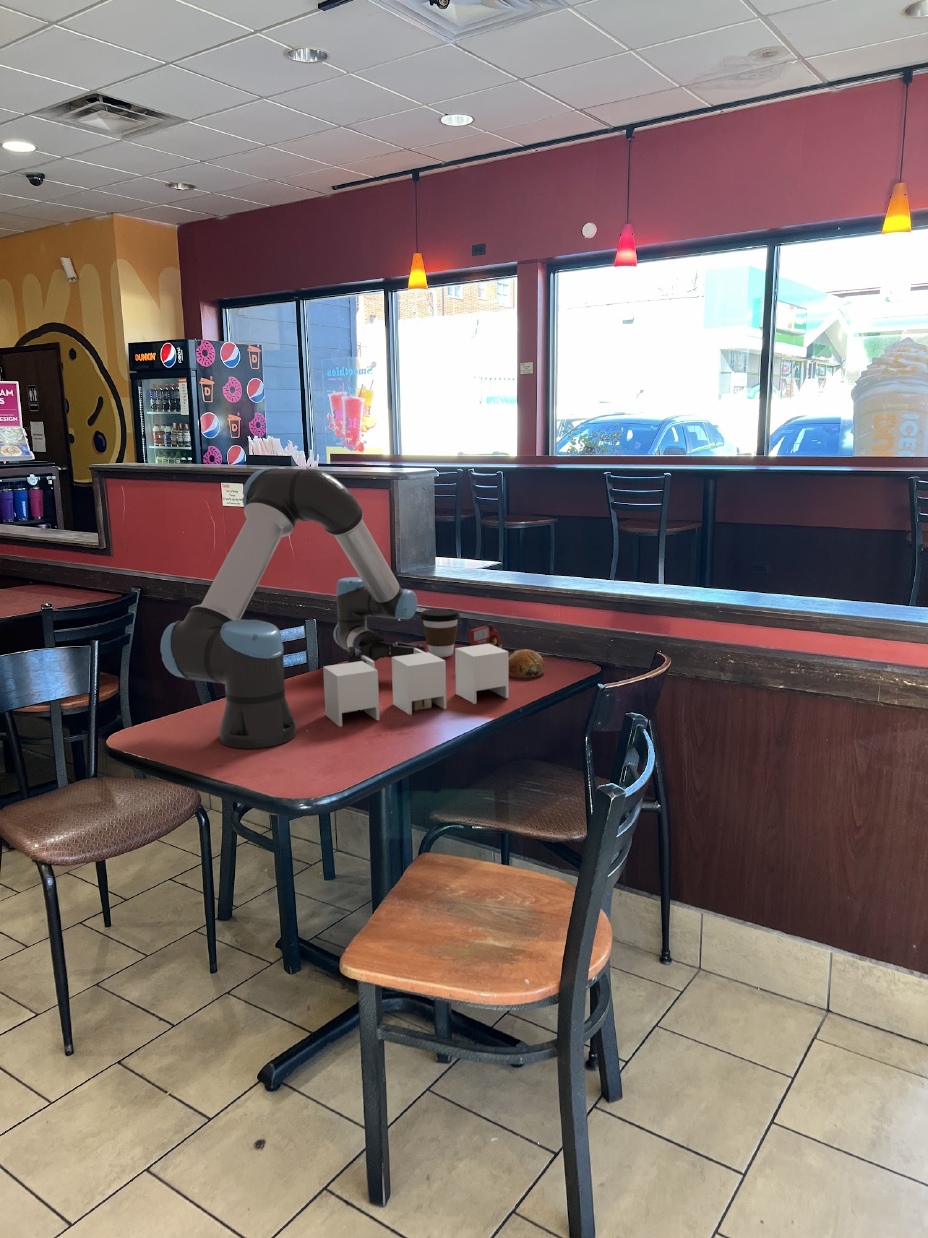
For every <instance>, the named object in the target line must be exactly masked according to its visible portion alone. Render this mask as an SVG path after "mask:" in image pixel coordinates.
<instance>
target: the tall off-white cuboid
mask: <svg viewBox="0 0 928 1238" xmlns="http://www.w3.org/2000/svg"><path fill="white" fill-rule="evenodd" d="M446 668H447V667H446V660H445V659H443V658H442V657H437V656H435V655H433V654H431V653H429V651H427V652H426V651H425V653H418V654H410V655H403V656H395V657H392V658H391V677H392V678H391V679H392V681H391V683H392V705H394V706H395V707H397V708H398V709H400V710H401V711H403V713H406V714H407V715H408V716H412V715H413V714H412V713H413V709H412V701H417V700H423V699H429V698H431V703H433V704H434V705H436V706H438V707H440V708H441V709H443V710H446V709H447V678H446V677H447V675H446V673H447V671H446V670H447V669H446Z"/></svg>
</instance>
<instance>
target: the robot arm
mask: <svg viewBox="0 0 928 1238" xmlns="http://www.w3.org/2000/svg"><path fill="white" fill-rule="evenodd" d="M242 494H243V497H241V498H242V505H243V508H244V509H243V514H244V517H245V519H246V520H245V521H244V524H243V526H242V527H241V529H240V531H239V533H238V535H237V536H236V538H235V541H234V543H233V544H232V545H231V547H230V550H229V552H228V553H227V555H226V557H225V559H224V561H223V562H222V564H221V566H220V569H219V570H218V572H217V573H216V575H215V577H214V580H213V582H212V583H211V585H210V587H209V589H208V591H207V593H206V594H205V596H204V598H203V601H202V602H201V604H196V605H193V606H191V607H190V608H189V610H188V612H187V614H186V616H185V618H184V620H177V621H175V622H172V623H170V624H169V625H168V626H167V627H166V628H165V629H164V631H163V634H162V636H161V639H160V653H161V660H162V662H163V664H164V667H165V668H166V669H167V670H168V672H169V673H170V674H171V675H174V676H175V677H177V678H182V679H185V680H188V681H200V682H201V681H202V682H209V683H215V684H223V685H224V688H225V689H224V690H225V705H224V710H223V714H222V718H221V721H220V724H219V741H220V743H221V744H223V745H224V746H227V747H230V748H235V749H247V750H249V749H250V750H252V749H265V748H269V747H274V746H278V745H282V744H284V743H287V742H289V741H291V740H292V739H294V737H295V736H296V734H297V725H296V720H295V718H294V716H293V713H292V710H291V709H290V706H289V703H288V701H287V699H286V687H285V685H286V684H285V663H284V651H285V650H284V648H285V647H284V644H283V640H282V633H281V630H280V629H279V627H277V626H276V625H275V624H273V623H270V622H267V621H264V620H260V619H259V620H258V619H242V617H243V615H244V613H245V611H246V609H247V606H248V605H249V603H250V601H251V599H252V597H253V595H254V592H255V591H256V589H257V588H258V585H259V583H260V581H261V579H262V578H263V575H264V574H265V571H266V569H267V567H268V565H269V563H270V561H271V559H272V557H273V555H274V553H275V551H276V549H277V548H278V545H279V544H280V542H281V539H282V538H285V537H288V536H290V535H291V534H292V533H293V531H294V529H295V527H296V524H297V523H298V522H313V523H314V522H315V523H318V524H319V525H321V526H322V527H323V529H324V530H325V532H326V533H327V534H329V535H331V536H333V537H334V538H335V539H336V542H338V544H339V546H340V548H341V549H342V551H343V552H344V554H345V556H346V557H347V559H348V560H349V562H350V563H351V565H352V567H353V568H354V569H355V571H356V574H357V575H358V577H355V576H353V577H343V578H340V579H338V581H336V595H335V597H336V606H337V607H336V608H337V624H336V625H335V627H334V630H333V639H334V641H335V643H336V644H337V645H338V646H339V647H340V648H341V649H342V650H344V651H348V653H347V658H346V659H347V663H352V662H359V661H363V662H365V663H366V664H368V665H370V666H371V667H373V668H375V669H376V665H375V662H376V661H378V660H380V659H382V658H391V659H392V657H396V656H403V655H410V654H418V653H425V652H426V645H421V644H419V643H418V644H415V643H408V642H402V641H400V640H395V641H394V643H393V642H386V641H385V639H384V638H383V636H382V635H381V634H380V633H377V632H375V631H373V630H371V629H369V628H368V627H367V625H368V623H367V620H368V619H367V618H368V617H375V618H376V617H377V618H378V617H379V618H385V619H393V620H394V619H396V620H399V619H400V620H410V619H412V618H413V617H414V615H415V614H416V611H417V608H418V597H417V595H416V592H414V591H413V590H411V589H410V590H409V589H407V588H404V589H403V588H402V587H401V585H400V584H399V582H398V580H397V577H396V576H395V574H394V573H393V571H392V569H391V567H390V566H389V564H388V562H387V560H386V559H385V557H384V556H383V553H382V551H381V550H380V547H378V545H377V543H376V541H375V540H374V537H373V536H372V534H371V532H370V531H369V529H368V527H367V525H366V523H365V521H364V520H363V518H364V512H363V511H364V510H363V509H362V507H361V505H360V504H359V502H358V500H357V498H355V496H354V495H353V493H352V492H351V491H350V490H349V489H348V488H347V487H346V485H344V484H343V483H342V482H340V481H339V480H338V479H337V478H335V477H334V476H332V475H331V474H329V473H327V472H325V471H323V470H321V469H316V468H315V469H314V468H307V469H306V468H305V469H304V468H300V469H299V468H279V467H271V468H264V469H259V470H257V471H255V472H254V473H252V474H251V475H250V476H249V477H248V479H247V480H246V482H245V484H244V486H243V489H242Z"/></svg>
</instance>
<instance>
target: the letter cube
mask: <svg viewBox="0 0 928 1238" xmlns="http://www.w3.org/2000/svg"><path fill="white" fill-rule="evenodd" d="M431 708H432V702H431V698H429V699H423V700H417V701H412V710H414V711H418V710H419V709H420V710H424V709H431ZM420 710H419V711H420Z"/></svg>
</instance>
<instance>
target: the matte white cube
mask: <svg viewBox="0 0 928 1238" xmlns="http://www.w3.org/2000/svg"><path fill="white" fill-rule="evenodd" d="M322 669H323V670H322V671H323V689H324V690H323V691H324V706H325V707H324V711H325V713H324V714H325V716H326V717H327V718H328V719H329V720H331V721H332V722H333V723H334V724H335V725H337V726H338V727H339V728H340V727H343V714H346V713H347V714H348V713H351V712H352V713H353V712H358V710H360V711H363V710H364V713H366V714H367V715H369V716H370V717H371V718H373V719H374V720H376V721H380V698H379V697H380V695H379V671H378V670H377V669H376V667H375V668H373V667H371V666H370V665H368V664H366V663H365V662H363V661H359V662H352V663H348V662H347V663H346V662H345V663H339V664H332V665H325V666H324V665H323V667H322Z"/></svg>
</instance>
